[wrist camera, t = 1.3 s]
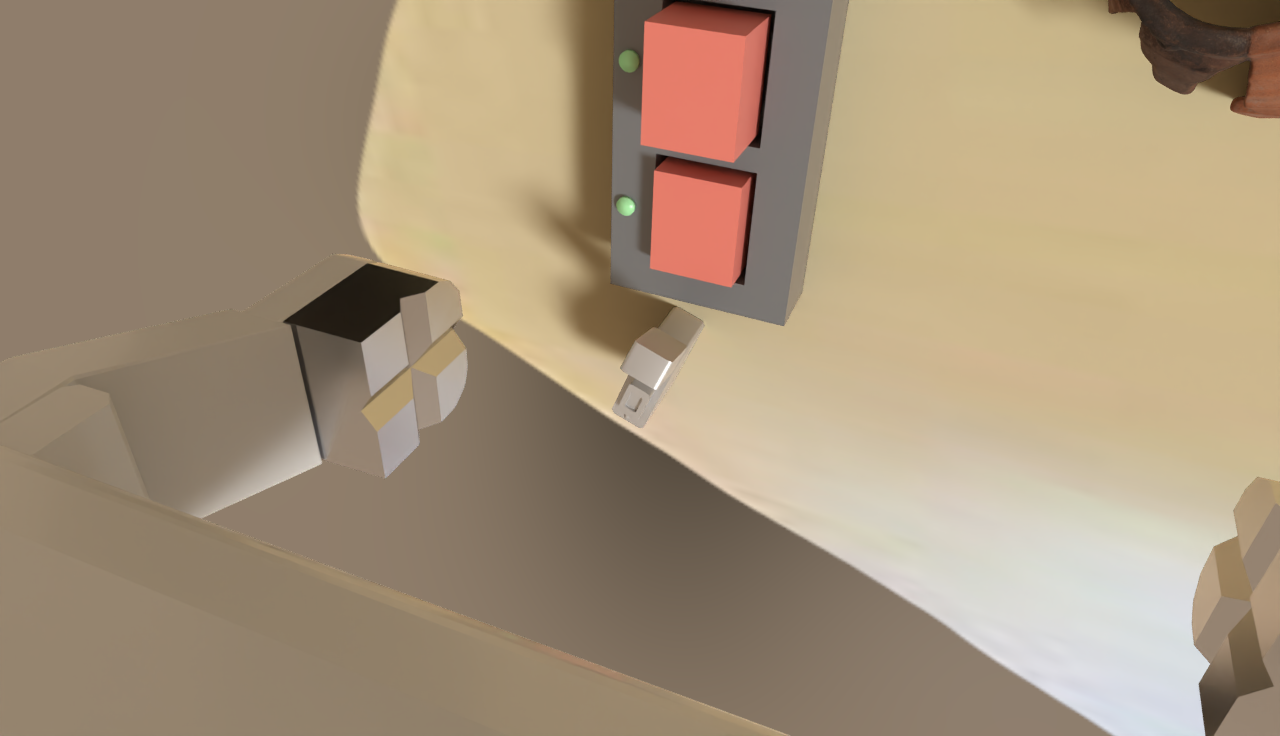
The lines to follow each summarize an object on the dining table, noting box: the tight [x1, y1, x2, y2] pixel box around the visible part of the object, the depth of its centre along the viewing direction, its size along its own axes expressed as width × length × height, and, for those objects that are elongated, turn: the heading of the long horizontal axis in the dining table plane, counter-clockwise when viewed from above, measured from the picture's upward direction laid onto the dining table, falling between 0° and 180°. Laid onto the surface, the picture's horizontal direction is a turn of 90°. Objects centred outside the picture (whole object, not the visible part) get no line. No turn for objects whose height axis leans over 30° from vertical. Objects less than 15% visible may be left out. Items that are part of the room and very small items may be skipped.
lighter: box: [612, 307, 704, 428], centre depth 41 cm, size 7×2×8 cm, turn 159°
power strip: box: [611, 0, 849, 326], centre depth 33 cm, size 24×8×3 cm, turn 178°
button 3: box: [650, 156, 757, 288], centre depth 37 cm, size 4×4×3 cm
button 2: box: [641, 1, 771, 163], centre depth 32 cm, size 4×4×3 cm
